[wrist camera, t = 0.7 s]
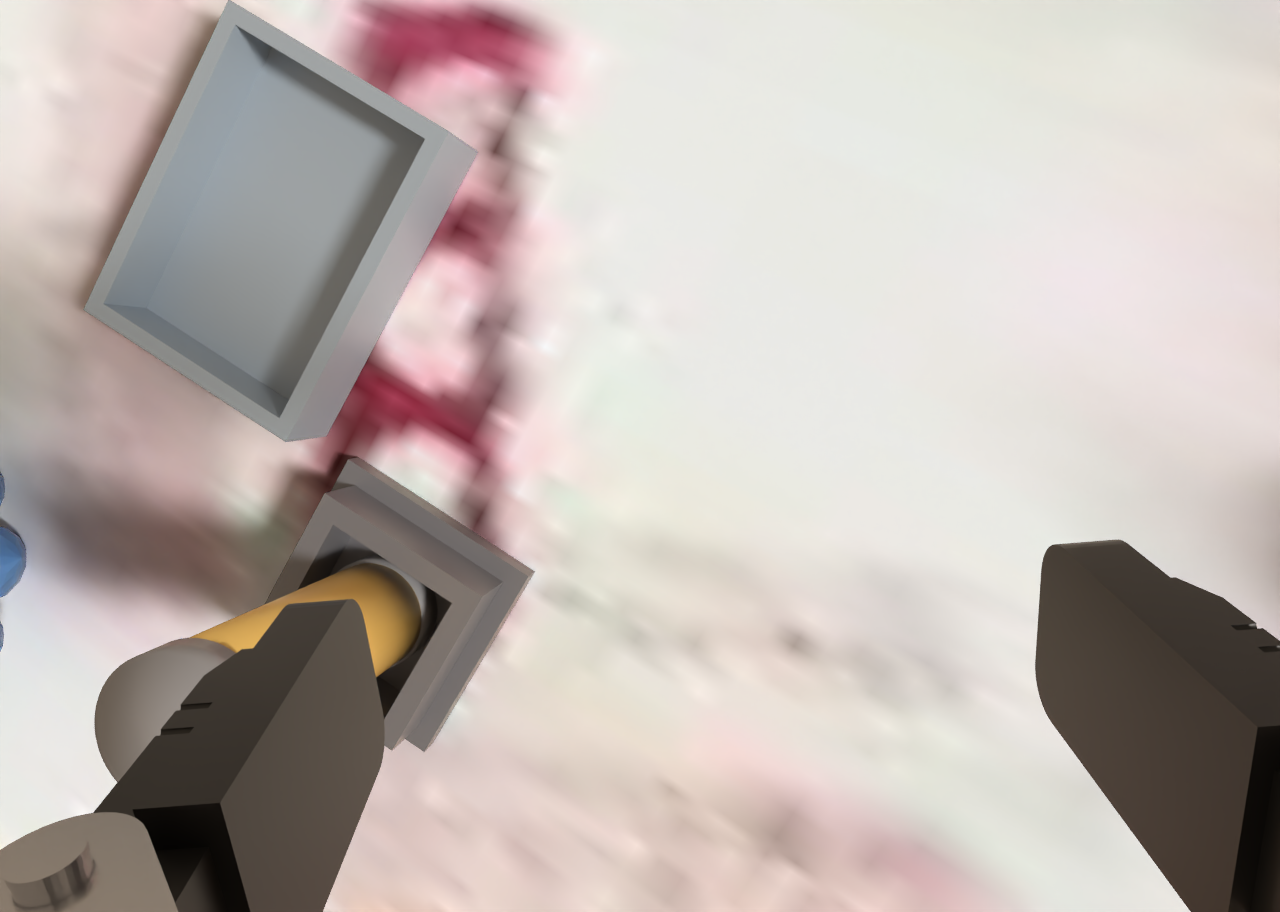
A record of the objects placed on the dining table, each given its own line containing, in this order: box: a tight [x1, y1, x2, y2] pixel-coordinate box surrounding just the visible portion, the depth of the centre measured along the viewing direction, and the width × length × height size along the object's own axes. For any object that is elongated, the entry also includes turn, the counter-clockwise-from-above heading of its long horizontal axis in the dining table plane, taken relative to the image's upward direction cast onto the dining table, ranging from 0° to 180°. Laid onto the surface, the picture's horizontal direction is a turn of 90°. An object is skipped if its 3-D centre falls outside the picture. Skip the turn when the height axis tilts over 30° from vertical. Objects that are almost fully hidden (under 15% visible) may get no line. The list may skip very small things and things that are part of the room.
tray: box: [83, 0, 478, 442], centre depth 33 cm, size 12×9×3 cm
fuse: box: [95, 554, 437, 783], centre depth 28 cm, size 4×4×12 cm
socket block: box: [265, 457, 534, 752], centre depth 33 cm, size 8×8×3 cm
